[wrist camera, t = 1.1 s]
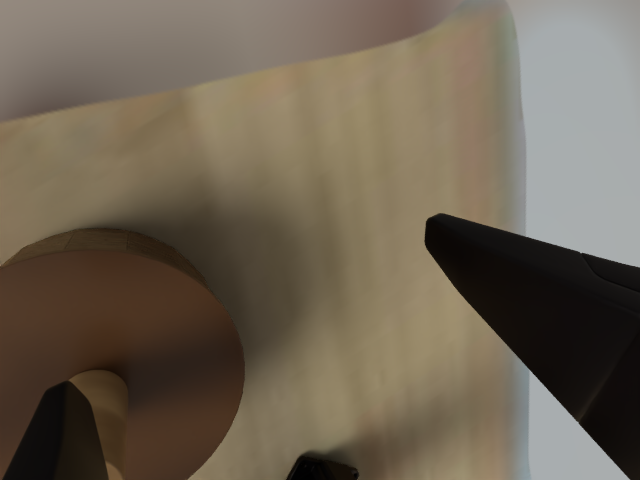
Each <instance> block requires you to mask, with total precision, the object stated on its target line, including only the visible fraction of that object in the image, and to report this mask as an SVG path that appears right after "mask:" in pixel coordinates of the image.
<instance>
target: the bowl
mask: <svg viewBox="0 0 640 480" xmlns="http://www.w3.org/2000/svg"><path fill="white" fill-rule="evenodd" d="M89 247H98V248H114V249H122V250H127V251H133V252H138V253H142V254H145V255H149V256H152V257H155V258H158V259H161V260H163V261H166V262H168V263H170V264H172V265H175V266H177V267H179V268H180V269H182V270H184V271H185V272H187V273H189V274H190V275H192V276H194V277H195V278H196V279H197V280H199V281H200V282H201V283H202V284H204V285H205V286H206V287H207V288H208V286H207V284H206V281H205V279H204V277H203V276H202V275H201V274H200V273H199V272H198V271H197V270H196V269H195V268H194V267H193V266H192V264H191V263H190V262H189V261H188V260H187V259H186V258H184V257H183V256H182V255H181V254H180V253H178V252H177V251H176V250H175V249H174V248H172V247H170V246H168V245H166V244H164V243H162V242H160V241H158V240H156V239H153V238H151V237H148V236H145V235H142V234H139V233H135V232H132V231H128V230H119V229H107V228H97V229H78V230H73V231H69V232H66V233H62V234H58V235H54V236H51V237H49V238H46V239H44V240H41V241H39V242H36V243H34V244H31V245H28V246H26V247H24V248H22V249H21V250H20V251H19V252H17V253H16V254H15V255H14V256H13V257H11V258H10V259H9V260H7V261H6V262H5V263H4V264H3V265H2V266H4V265H7V264H9V263H12V262H14V261H17V260H19V259H23V258H26V257H30V256H33V255H37V254H41V253H44V252H50V251H57V250H63V249H69V248H89ZM2 266H1V267H2ZM208 289H209V288H208Z"/></svg>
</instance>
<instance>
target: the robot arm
mask: <svg viewBox="0 0 640 480" xmlns="http://www.w3.org/2000/svg"><path fill="white" fill-rule="evenodd" d="M425 246H426V248H427V250H428V251H429V253H430V254H431V255H432V257H433V258H434V260H435V261H436V262H437V264H438V265H439V266H440V268H441V269H442V270H443V272H444V273H445V274H446V276H447V277H448V279H449V280H450V281H451V283H452V284H453V285H454V287H455V288H456V289H457V290H458V292H459V293H460V294H461V295H462V296H463V297H464V299H465V300H466V301H467V302H468V303H469V304H470V305H471V306H472V307H473V308H474V309H475V311H476V312H477V313H478V314H479V315H480V316H481V317H482V318H483V319H484V320H485V321H486V323H487V324H488V325H489V326H490V327H491V328H492V329H493V330H494V331H495V332H496V333H497V335H498V336H499V337H500V338H501V339H502V340H503V341H504V342H505V343H506V344H507V346H508V347H509V348H510V349H511V350H512V351H513V352H514V353H515V354H516V355H517V356H518V358H519V359H520V360H521V361H522V362H523V363H524V364H525V365H526V366H527V367H528V368H529V370H530V371H531V372H532V373H533V374H534V375H535V376H536V377H537V378H538V379H539V380H540V382H541V383H542V384H543V385H544V386H545V387H546V388H547V389H548V390H549V391H550V392H551V394H552V395H553V396H554V397H555V398H556V399H557V400H558V401H559V402H560V403H561V404H562V406H563V407H564V408H565V409H566V410H567V411H568V412H569V413H570V414H571V415H572V416H573V417H574V419H575V420H576V421H577V422H579V424H580V426H582V428H583V429H584V430H585V431H586V432H587V433H588V434H589V435H590V436H591V437H592V439H593V440H594V441H595V442H596V443H597V444H598V445H599V446H600V447H601V448H602V449H603V451H604V452H605V453H606V454H607V455H608V456H609V457H610V458H611V459H612V460H613V461H614V463H615V464H616V465H617V466H618V467H619V468H620V469H621V470H622V471H623V472H624V474H625V475H626V476H627V477H628V478H629V479H630V480H640V268H639V267H635V266H630V265H626V264H622V263H618V262H615V261H611V260H607V259H603V258H599V257H596V256H592V255H589V254H585V253H580V252H578V251H574V250H571V249H567V248H563V247H560V246H557V245H553V244H549V243H546V242H542V241H539V240H535V239H532V238H528V237H525V236H521V235H518V234H514V233H511V232H507V231H504V230H500V229H497V228H493V227H489V226H486V225H482V224H479V223H475V222H472V221H468V220H465V219H461V218H458V217H454V216H451V215H447V214H443V213H439V214H437V215H434V216H432V217H430V218H428V219H427V221H426V228H425ZM303 462H304V463H303ZM302 463H303V464H302ZM358 477H359V472H358V470H357V469H356V468H354V467H349V466H347V465H345V464H341V463H336V462H332V461H328V460H318V459H314V458H310V457H305V456H302V457H300V458H298V459H297V461H296V463H295V464H294V466H293V468H292V470H291V472H290V473H289V475H288V477H287V479H286V480H357V479H358ZM2 480H109V477H108V472H107V467H106V463H105V459H104V455H103V450H102V446H101V442H100V438H99V434H98V430H97V426H96V422H95V418H94V414H93V410H92V406H91V404H90V402H89V400H88V399H87V398H86V397H85V395H84V394H83V393H82V392H81V391H80V390H79V389H78V388H77V387H76V386H75V385H74V384H73V383H72V382H71V381H68V380H66V381H63V382H60V383H58V384H56V385H54V386H52V387H49V388H48V389H47V390H46V391H45V392H44V394H43V396H42V398H41V400H40V402H39V404H38V406H37V408H36V410H35V412H34V414H33V416H32V418H31V420H30V423H29V425H28V427H27V429H26V431H25V433H24V435H23V437H22V439H21V441H20V443H19V445H18V447H17V449H16V451H15V453H14V456H13V458H12V460H11V462H10V464H9V466H8V468H7V470H6V472H5V474H4V476H3V478H2Z"/></svg>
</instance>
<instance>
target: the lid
mask: <svg viewBox="0 0 640 480" xmlns="http://www.w3.org/2000/svg"><path fill="white" fill-rule="evenodd" d="M66 380H68V381H71V382H72V383H73V384H74V385H75V386H76V387H77V388H78V389H79V390H80V391H81V392H82V393H83V394H84V395H85V397H86V398H87V399H88V400H89V402H90V404H91V406H92V410H93V414H94V418H95V422H96V426H97V430H98V434H99V438H100V442H101V446H102V450H103V455H104V459H105V463H106V467H107V472H108V477H109V480H187V479H188V478H189V477H190V476H192V475H193V474H194V473H195V472H196V471H197V470H198V469H199V468H200V467H201V466H202V465H203V464H204V463H205V462H206V461H207V460H208V459H209V458H210V456H211V455H212V454H213V453H214V451H215V450H216V449H217V447H218V446H219V445H220V443H221V442H222V441H223V439H224V437H225V436H226V434H227V432H228V430H229V429H230V427H231V425H232V423H233V420H234V418H235V416H236V413H237V411H238V408H239V404H240V401H241V397H242V393H243V387H244V380H245V362H244V355H243V348H242V344H241V341H240V338H239V334H238V332H237V329H236V327H235V325H234V323H233V321H232V319H231V317H230V315H229V313H228V312H227V310H226V309H225V308H224V306H223V305H222V303H221V302H220V300H219V299H218V298H217V297H216V296H215V295H214V294H213V293H212V292H211V291H210V290H209V289H208V288H207V287H206V286H205V285H204V284H202V283H201V282H200V281H199V280H197V279H196V278H195V277H194V276H192V275H190V274H189V273H187V272H185V271H184V270H182V269H180V268H179V267H177V266H175V265H172V264H170V263H168V262H166V261H163V260H161V259H158V258H155V257H152V256H149V255H145V254H142V253H138V252H133V251H127V250H122V249H114V248H98V247H89V248H69V249H63V250H57V251H50V252H44V253H41V254H37V255H33V256H30V257H26V258H23V259H19V260H17V261H14V262H12V263H9V264H7V265H4V266H2V267H0V480H2V478H3V476H4V474H5V472H6V470H7V468H8V466H9V464H10V462H11V460H12V458H13V456H14V453H15V451H16V449H17V447H18V445H19V443H20V441H21V439H22V437H23V435H24V433H25V431H26V429H27V427H28V425H29V423H30V420H31V418H32V416H33V414H34V412H35V410H36V408H37V406H38V404H39V402H40V400H41V398H42V396H43V394H44V392H45V391H46V390H47V389H48V388H49V387H52V386H54V385H56V384H58V383H60V382H63V381H66Z"/></svg>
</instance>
